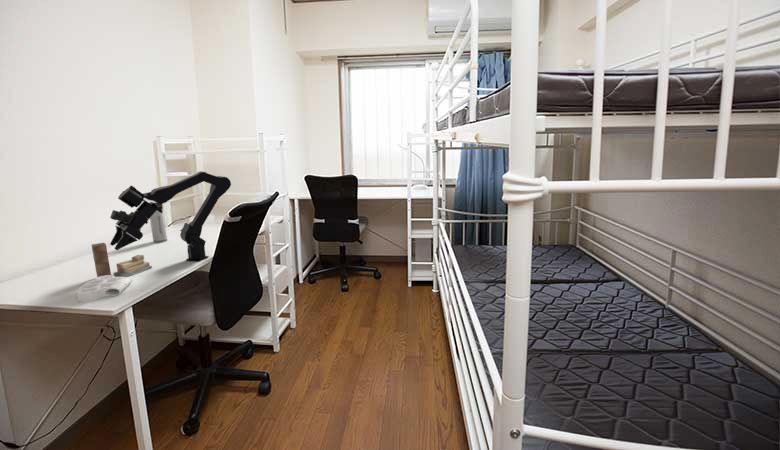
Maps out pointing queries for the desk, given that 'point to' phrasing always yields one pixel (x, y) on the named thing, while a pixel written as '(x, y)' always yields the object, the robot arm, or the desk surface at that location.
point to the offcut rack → (132, 266)
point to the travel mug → (158, 226)
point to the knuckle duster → (102, 287)
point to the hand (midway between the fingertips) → (113, 247)
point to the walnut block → (101, 259)
